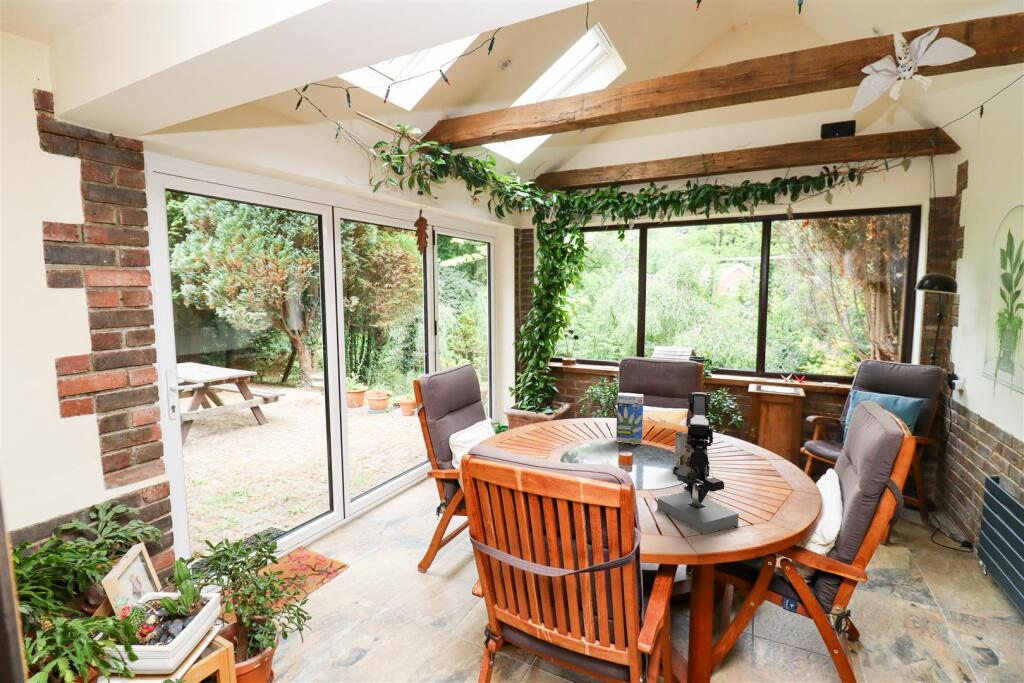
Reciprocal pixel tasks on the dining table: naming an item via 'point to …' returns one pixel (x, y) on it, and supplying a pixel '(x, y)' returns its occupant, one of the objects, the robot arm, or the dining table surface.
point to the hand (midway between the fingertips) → (696, 500)
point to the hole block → (698, 513)
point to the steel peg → (695, 497)
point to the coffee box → (681, 448)
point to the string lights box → (629, 417)
